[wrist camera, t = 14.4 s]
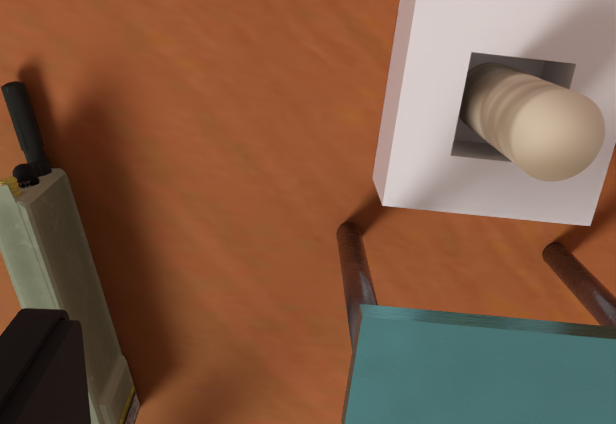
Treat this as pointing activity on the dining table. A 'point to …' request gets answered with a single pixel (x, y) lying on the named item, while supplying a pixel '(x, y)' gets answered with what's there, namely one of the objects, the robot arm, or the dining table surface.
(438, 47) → the socket block
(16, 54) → the dining table surface
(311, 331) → the dining table surface
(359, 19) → the dining table surface
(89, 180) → the dining table surface
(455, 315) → the small teal stool
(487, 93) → the peg
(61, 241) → the handheld radio
